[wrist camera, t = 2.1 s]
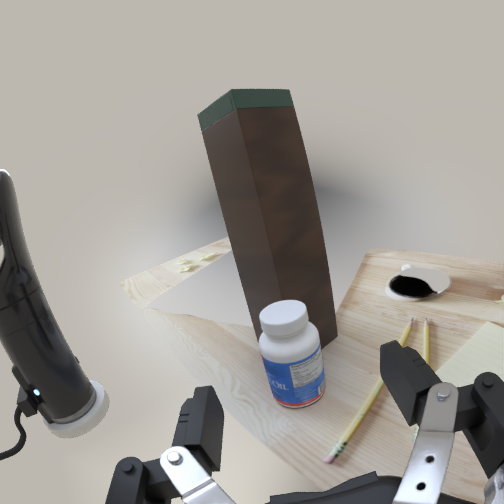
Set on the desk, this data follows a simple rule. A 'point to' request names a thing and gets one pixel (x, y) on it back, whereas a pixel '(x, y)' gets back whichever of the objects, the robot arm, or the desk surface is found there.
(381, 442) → the desk surface
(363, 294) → the desk surface
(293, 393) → the pill bottle
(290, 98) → the socket
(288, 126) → the stand
